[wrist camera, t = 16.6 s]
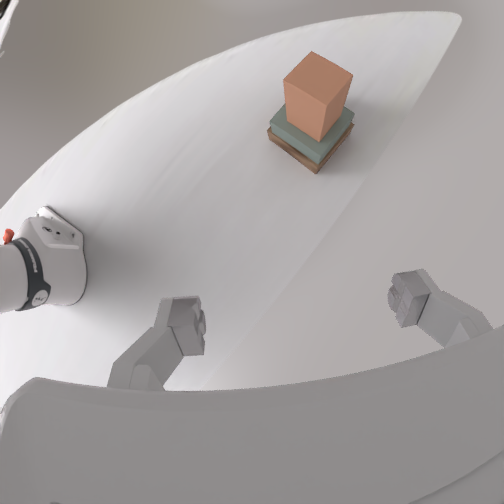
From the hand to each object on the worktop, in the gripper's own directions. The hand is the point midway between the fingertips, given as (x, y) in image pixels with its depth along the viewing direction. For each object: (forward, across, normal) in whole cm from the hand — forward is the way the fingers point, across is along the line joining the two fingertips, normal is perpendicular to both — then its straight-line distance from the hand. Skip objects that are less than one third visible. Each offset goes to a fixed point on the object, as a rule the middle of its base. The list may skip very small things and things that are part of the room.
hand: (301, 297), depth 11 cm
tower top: (+32, -8, -1) cm, 33 cm away
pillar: (+28, -8, -3) cm, 29 cm away
